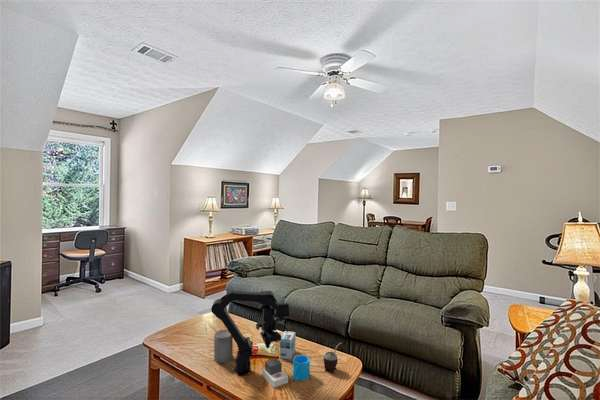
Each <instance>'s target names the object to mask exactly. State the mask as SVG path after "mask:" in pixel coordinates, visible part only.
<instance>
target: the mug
mask: <svg viewBox="0 0 600 400" xmlns="http://www.w3.org/2000/svg"><path fill="white" fill-rule="evenodd" d="M310 363H311V359H310V357H309V356H307V355H304V354H299V355H298V354H297V355H295V356H293V357H292V364H293V365H292V368H293V369H292V378H293V380H295V381H306V380H309V378H310V369H311V364H310Z"/></svg>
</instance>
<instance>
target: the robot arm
mask: <svg viewBox="0 0 600 400" xmlns="http://www.w3.org/2000/svg"><path fill="white" fill-rule="evenodd" d="M233 301H237V302H238V301H239V302H240V301H241V302H251V303H252V302H253V303H258V304H260V305H259V307H258V308H259V310H262V318H261V321H258V322H257V323H255V329H256V330H257V331H259V330H261V332H260V336H261V338H262V340H263V343H264V345H265V348H266V349H270V347H271V343H274V342H280V340H281V336H282V335H281V334H280V333H279V332H278V331H277V330H280V331H283V332H284V328H285V325H286V324H285V323H284V321H283V322H282V321H281V320H280V318H289V317H290V309H289V308H290V307H289V305H290V304H289V302H286V303H284V302H283V303H279V301H278V300H277V299H276V297H275V293H274V292H273V291H272V290H264V291H258V292H252V291H250V292H249V291H240V290H239V291H238V290H237V291H236V290H230V291H229V292H227V293H226V294H225V295H223V296H222V297H221V298H218V299H216V300H214V302H213V304H212V306H211V309H210V310H211V311H210V312H211V313H212V314H213V315H214V316H215V317H216V318H217V319H219V320H220V321H221V322H222V323H223V325H224V326H225V329H226V330H228V331H229V333H230V334H231V336H232V337H233V340H234V342H235V343H236V345H237V349H238V350H237V353H236V357H235V368H234V369H233V371H234V372H235V373H236V374H237V376H239V377H240V376H244V375H248V374H250V373H252V370H251V359H250V358H251V357H252V356H253V349H254V348H253V347H254V346H253V344H254V342H253V341H252V340H251V339H250V337H249V336H247V337H245V336H244V335H243V333H242V332H241V330H240V329H239V327H238V326H237V324H236V323H235V322H234V320H233V319H232V317H231V315H230V313H229V310H228V306H229V305H230V303H232V302H233ZM275 316H276V317H275Z"/></svg>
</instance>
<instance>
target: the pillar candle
mask: <svg viewBox="0 0 600 400" xmlns="http://www.w3.org/2000/svg"><path fill="white" fill-rule="evenodd" d="M213 335H214V337H213V339H214V341H213V342H214V344H213V345H214V346H213V347H214V348H213V349H214V351H213V353H214V354H213V358H214V359H213V360H214V362H215V363H217V364H222V363H223V364H224V363H228V362H230V361H232V360H233V357H234V353H233V352H234V351H233V349H234V348H233V345H234V344H233V343H234V342H233V340H234V339H233V337H232V336H231V334H230V333H229V331H228V330H227V329H220V330H216V332H214V334H213Z"/></svg>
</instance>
